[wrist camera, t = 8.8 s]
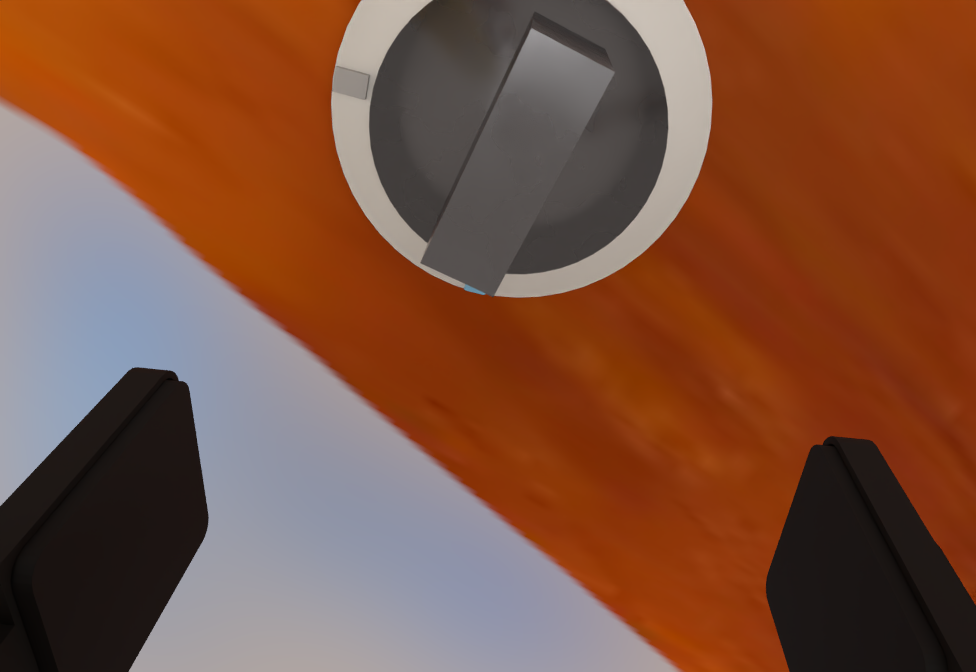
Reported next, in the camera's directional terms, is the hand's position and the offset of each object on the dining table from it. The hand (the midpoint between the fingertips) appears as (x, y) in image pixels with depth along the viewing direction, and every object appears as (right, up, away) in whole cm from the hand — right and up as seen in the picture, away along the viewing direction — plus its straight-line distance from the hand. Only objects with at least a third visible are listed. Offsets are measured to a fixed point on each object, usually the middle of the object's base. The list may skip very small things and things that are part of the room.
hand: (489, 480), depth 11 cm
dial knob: (+1, +11, +20) cm, 23 cm away
